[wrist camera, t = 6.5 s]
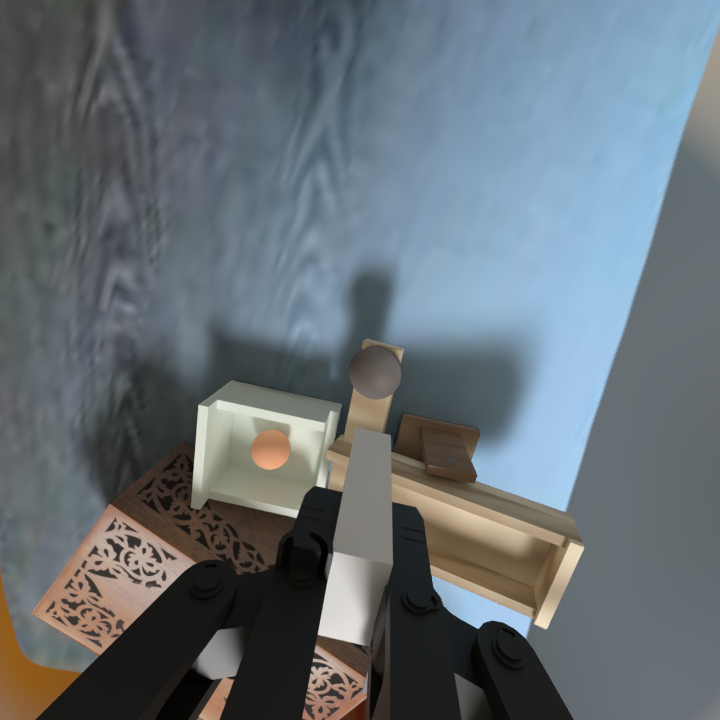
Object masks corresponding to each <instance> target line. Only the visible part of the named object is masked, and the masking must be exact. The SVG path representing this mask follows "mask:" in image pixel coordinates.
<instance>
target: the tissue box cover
mask: <svg viewBox="0 0 720 720" xmlns="http://www.w3.org/2000/svg"><path fill="white" fill-rule="evenodd" d="M194 458H195V447H193V446H192V445H191V444H189V443H188V442H186V441H185V440H183V441H182V442H181V443H180V444H179V445H177V446H176V447H175V448H174V449H173V450H172V451H170V452H169V453H168V454H167V455H166V456H165V457H163V458H162V459H161V460H160V461H159V462H158V463H156V464H155V465H154V466H153V467H152V468H151V469H149V470H148V471H147V472H146V473H145V474H144V475H142V476H141V477H140V478H139V479H138V480H137V481H136V482H134V483H133V484H132V485H131V486H130V487H129V488H127V489H126V490H125V491H124V492H123V493H122V494H120V495H119V496H118V497H117V498H116V499H115V500H113V501H112V502H111V503H110V504H109V505H108V507H107V508H106V510H105V511H104V512H103V514H102V515H101V517H100V518H99V519H98V521H97V522H96V524H95V525H94V526H93V528H92V529H91V531H90V532H89V533H88V535H87V536H86V538H85V539H84V540H83V542H82V543H81V545H80V546H79V547H78V549H77V550H76V552H75V553H74V554H73V556H72V557H71V559H70V560H69V561H68V563H67V564H66V566H65V567H64V568H63V570H62V571H61V573H60V574H59V575H58V577H57V578H56V580H55V581H54V582H53V584H52V585H51V587H50V588H49V589H48V591H47V592H46V594H45V595H44V596H43V598H42V599H41V601H40V602H39V603H38V605H37V606H36V608H35V609H34V610H33V612H32V613H31V614H33V615H34V616H36V617H38V618H39V619H41V620H42V621H44V622H46V623H47V624H49V625H50V626H52V627H54V628H55V629H57V630H58V631H60V632H62V633H63V634H65V635H66V636H68V637H70V638H71V639H73V640H74V641H76V642H78V643H79V644H81V645H82V646H84V647H86V648H87V649H89V650H90V651H92V652H94V653H95V654H97V655H98V656H100V655H101V654H102V653H103V652H104V651H105V650H106V649H107V648H108V647H109V646H110V645H111V644H112V643H113V642H114V641H115V640H116V639H117V638H118V637H119V636H120V635H121V634H122V633H123V632H124V631H125V630H126V629H127V628H128V627H129V626H130V625H131V624H132V623H133V622H134V621H135V620H136V619H137V618H138V617H139V616H140V615H141V614H142V613H143V612H144V611H145V610H146V609H147V608H148V607H149V606H150V605H151V604H152V603H153V602H154V601H155V600H156V599H157V598H158V597H159V596H160V595H161V594H162V593H163V592H164V591H165V590H166V589H167V588H168V587H169V586H170V585H171V584H172V583H173V582H174V581H175V580H176V579H177V578H178V577H179V576H180V575H181V574H182V573H183V572H184V571H185V570H187V569H188V568H189V567H191V566H192V565H194V564H196V563H199V562H201V561H204V560H214V559H217V560H221V561H225V562H228V563H229V564H230V565H231V566H233V567H234V568H235V570H236V572H237V575H239V574H251V573H257V572H262V571H264V570H267V569H269V568H271V567H272V566H274V565H275V563H276V557H277V551H278V545H279V541H280V540H281V539H282V537H283V536H284V534H286V533H288V532H289V531H291V530H292V529H293V526H294V523H295V520H294V519H292V518H291V517H290V516H285V515H281V514H276V513H272V512H267V511H263V510H258V509H254V508H249V507H245V506H240V505H236V504H231V503H227V502H222V501H218V500H213V499H209V498H208V500H207V501H206V502H205V504H204V505H203V506H202V508H201V509H200V510H199V509H194V508H191V497H192V484H193V471H194ZM372 653H373V637H372V641H371V644H370V647H369V646H364V645H360V644H356V643H351V642H347V641H343V640H338V639H334V638H330V637H325V636H321V635H318V636H317V641H316V647H315V652H314V657H313V663H312V668H311V674H310V679H309V684H308V690H307V695H306V700H305V706H304V711H303V717H302V720H340V719H341V718H342V717H343V716H345V715H346V714H347V713H349V712H350V711H351V710H352V709H354V708H355V707H356V706H358V705H359V704H360V703H361V702H363V701H364V700H365V699H366V698H367V693H366V694H365V693H362V690H363V686H364V682H365V678H366V675H367V671H368V668H369V664H370V661H371V657H372ZM234 679H235V676H232V677H226V678H223V679H222V681H221V682H220V684H219V685H218V687H217V688H216V690H215V692H214V693H213V695H212V696H211V698H210V700H209V701H208V703H207V704H206V706H205V707H204V709H203V711H202V712H201V714H200V715H199V717H198V718H200V719H201V720H219V719H220V717H221V714H222V711H223V709H224V706H225V703H226V700H227V698H228V695H229V692H230V689H231V687H232V684H233V681H234Z"/></svg>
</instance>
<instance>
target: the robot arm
mask: <svg viewBox="0 0 720 720" xmlns="http://www.w3.org/2000/svg"><path fill="white" fill-rule="evenodd" d="M318 635H321V636H325V637H330V638H334V639H338V640H343V641H347V642H351V643H356V644H360V645H364V646H369V647H370V644H371V641H372V637H373V653H372V657H371V661H370V664H369V668H368V671H367V675H366V678H365V682H364V686H363V690H362V693H365V694H366V693H367V700H366V719H365V720H573V718H572V716H571V714H570V713H569V711H568V709H567V707H566V705H565V704H564V702H563V700H562V699H561V697H560V695H559V693H558V692H557V690H556V688H555V686H554V685H553V683H552V681H551V679H550V678H549V676H548V674H547V672H546V671H545V669H544V667H543V665H542V664H541V662H540V660H539V658H538V657H537V655H536V653H535V651H534V650H533V648H532V647H531V646H530V644H529V643H528V642H527V640H526V639H525V638H524V637H523V636H522V635H521V634H520V633H519V632H517V631H516V630H515V629H514V628H512V627H510V626H508V625H506V624H504V623H502V622H497V621H489V622H486V623H483V625H482V626H481V627H480V628H479V629H477V628H475V627H473V626H471V625H470V624H468V623H466V622H464V621H462V620H460V619H459V618H457V617H456V616H454V615H453V614H451V613H450V612H449V611H448V610H447V609H446V608H445V607H444V606H443V604H442V601H441V598H440V596H439V595H438V594H437V592H436V591H435V590H434V588H433V583H432V576H431V569H430V561H429V554H428V547H427V540H426V534H425V525H424V519H423V517H422V516H421V514H420V513H419V511H418V509H417V508H416V507H413V506H409V505H404V504H400V503H395V502H392V477H391V435H388V434H384V433H379V432H374V431H370V430H365V429H361V428H356V429H355V434H354V438H353V443H352V448H351V452H350V457H349V461H348V466H347V471H346V475H345V480H344V485H343V490H342V492H340V491H336V490H331V489H327V488H322V487H318V486H314V487H312V488H311V489H310V490H309V491H308V492H307V493H306V494H305V495H304V498H303V501H302V504H301V507H300V509H299V512H298V515H297V518H296V521H295V523H294V526H293V529H292V530H291V531H289V532H288V533H286V534H284V536H283V537H282V539H281V540H280V541H279V545H278V551H277V557H276V563H275V565H274V566H272V567H271V568H269V569H267V570H264V571H262V572H257V573H251V574H239V575H237V572H236V570H235V568H234V567H233V566H231V565H230V564H229V563H228V562H225V561H221V560H217V559H214V560H204V561H201V562H199V563H196V564H194V565H192V566H191V567H189V568H188V569H187V570H185V571H184V572H183V573H182V574H181V575H180V576H179V577H178V578H177V579H176V580H175V581H174V582H173V583H172V584H171V585H170V586H169V587H168V588H167V589H166V590H165V591H164V592H163V593H162V594H161V595H160V596H159V597H158V598H157V599H156V600H155V601H154V602H153V603H152V604H151V605H150V606H149V607H148V608H147V609H146V610H145V611H144V612H143V613H142V614H141V615H140V616H139V617H138V618H137V619H136V620H135V621H134V622H133V623H132V624H131V625H130V626H129V627H128V628H127V629H126V630H125V631H124V632H123V633H122V634H121V635H120V636H119V637H118V638H117V639H116V640H115V641H114V642H113V643H112V644H111V645H110V646H109V647H108V648H107V649H106V650H105V651H104V652H103V653H102V654H101V655H100V656H99V657H98V658H97V659H96V660H95V661H94V662H93V663H92V664H91V665H90V666H89V667H88V668H87V669H86V670H85V671H84V672H83V673H82V674H81V675H80V676H79V677H78V678H77V679H76V680H75V681H74V682H73V683H72V684H71V685H70V686H69V687H68V688H67V689H66V690H65V691H64V692H63V693H62V694H61V695H60V696H59V697H58V698H57V699H56V700H55V701H54V702H53V703H52V704H51V705H50V706H49V707H48V708H47V709H46V710H45V711H44V712H43V713H42V714H41V715H40V716H39V717H38V718H37V719H36V720H197V718H198V717H199V715H200V714H201V712H202V711H203V709H204V707H205V706H206V704H207V703H208V701H209V700H210V698H211V696H212V695H213V693H214V692H215V690H216V688H217V687H218V685H219V684H220V682H221V681H222V679H223V678H226V677H232V676H235V679H234V681H233V684H232V687H231V689H230V692H229V695H228V698H227V700H226V703H225V706H224V709H223V711H222V714H221V717H220V719H219V720H302V717H303V711H304V706H305V700H306V695H307V690H308V684H309V679H310V674H311V668H312V663H313V657H314V652H315V647H316V641H317V636H318Z"/></svg>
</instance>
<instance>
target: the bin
mask: <svg viewBox="0 0 720 720" xmlns="http://www.w3.org/2000/svg"><path fill="white" fill-rule="evenodd" d="M341 408H342V404H340V403H336V402H331V401H326V400H322V399H317V398H312V397H308V396H303V395H298V394H294V393H289V392H284V391H280V390H275V389H270V388H266V387H261V386H256V385H252V384H247V383H243V382H238V381H233V380H231V381H230V382H229V383H227V384H226V385H225V386H223V387H222V388H221V389H219V390H218V391H216V392H215V393H214V394H212V395H211V396H210V397H208V398H207V399H206V400H204V401H203V402H202V403H200V404H199V405H198V418H197V431H196V444H195V458H194V471H193V484H192V497H191V508H194V509H199V510H200V509H201V508H202V506H203V505H204V504H205V502H206V501H207V500H208V498H209V499H213V500H218V501H222V502H227V503H231V504H236V505H240V506H245V507H249V508H254V509H258V510H263V511H267V512H272V513H276V514H281V515H285V516H290V517H294V518H297V515H298V512H299V509H300V507H301V504H302V501H303V498H304V495H305V494H306V493H307V492H308V491H309V490H310V489H311V488H312V487H314V486H318V487H322V488H326V483H327V478H328V473H329V468H330V463H331V460H328V459H326V454H327V450H328V448H329V447H330V446H331V445H332V444H333V443H334V442H335V438H336V433H337V428H338V423H339V418H340V413H341ZM267 430H277V431H280V432H282V433H283V434H285V435H286V437H287V438H288V440H289V442H290V446H291V451H290V455H289V458H288V459H287V461H286V462H285V463H284V464H283V465H282V466H280V467H278V468H276V469H270V470H268V469H263V468H261V467H259V466H258V465H257V464H256V463H255V462H254V461H253V459H252V456H251V446H252V443H253V441H254V439H255V438H256V437H257V436H258V435H259V434H260V433H262V432H264V431H267Z"/></svg>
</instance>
